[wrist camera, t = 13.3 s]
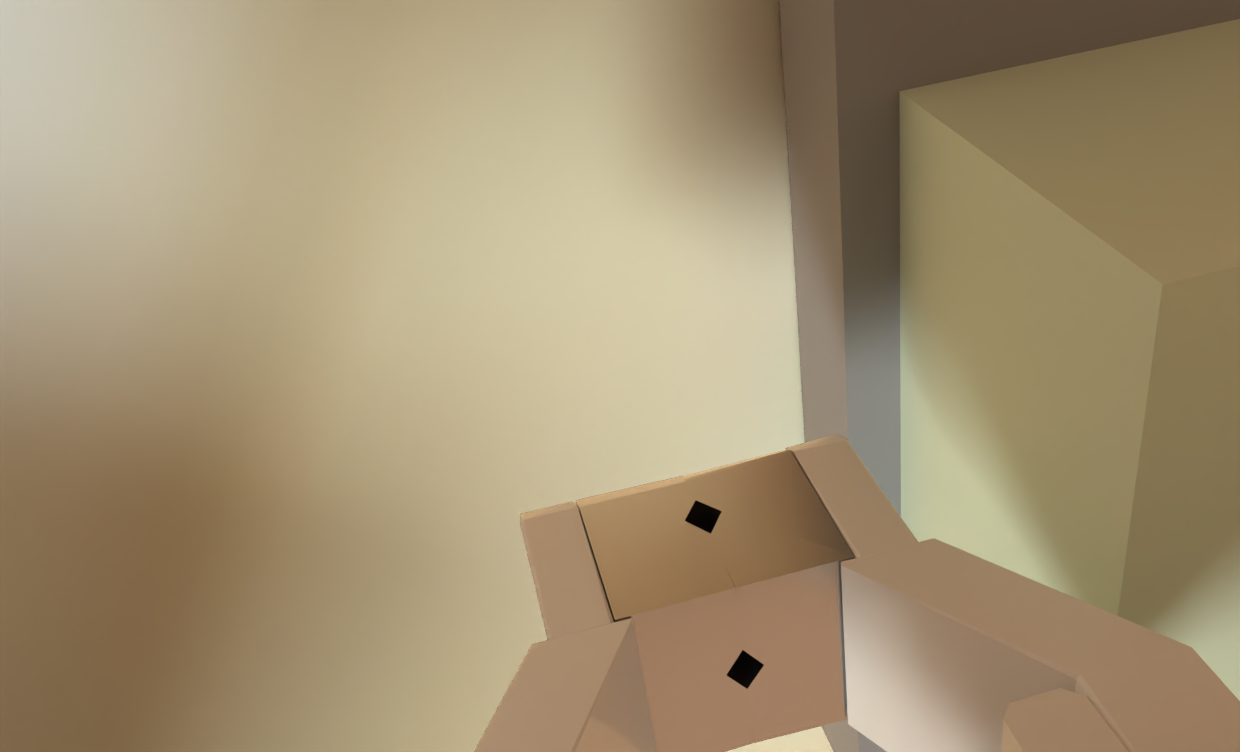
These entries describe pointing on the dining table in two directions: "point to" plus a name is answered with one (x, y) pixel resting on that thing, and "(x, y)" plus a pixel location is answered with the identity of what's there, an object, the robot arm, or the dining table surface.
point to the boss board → (897, 179)
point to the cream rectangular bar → (1081, 328)
